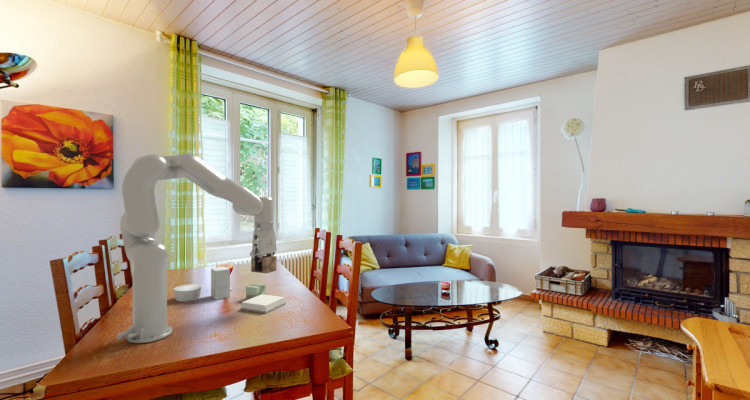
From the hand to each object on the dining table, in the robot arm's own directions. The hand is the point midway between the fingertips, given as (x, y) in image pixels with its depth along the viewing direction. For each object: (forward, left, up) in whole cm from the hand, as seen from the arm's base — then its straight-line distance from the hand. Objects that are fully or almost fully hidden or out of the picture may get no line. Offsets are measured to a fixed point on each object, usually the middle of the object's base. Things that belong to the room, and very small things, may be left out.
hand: (264, 269), depth 143 cm
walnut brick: (0, 0, -1) cm, 1 cm away
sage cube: (+8, +11, -16) cm, 21 cm away
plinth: (0, 0, -16) cm, 16 cm away
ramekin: (-4, +39, -16) cm, 43 cm away
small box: (+4, +28, -16) cm, 33 cm away
